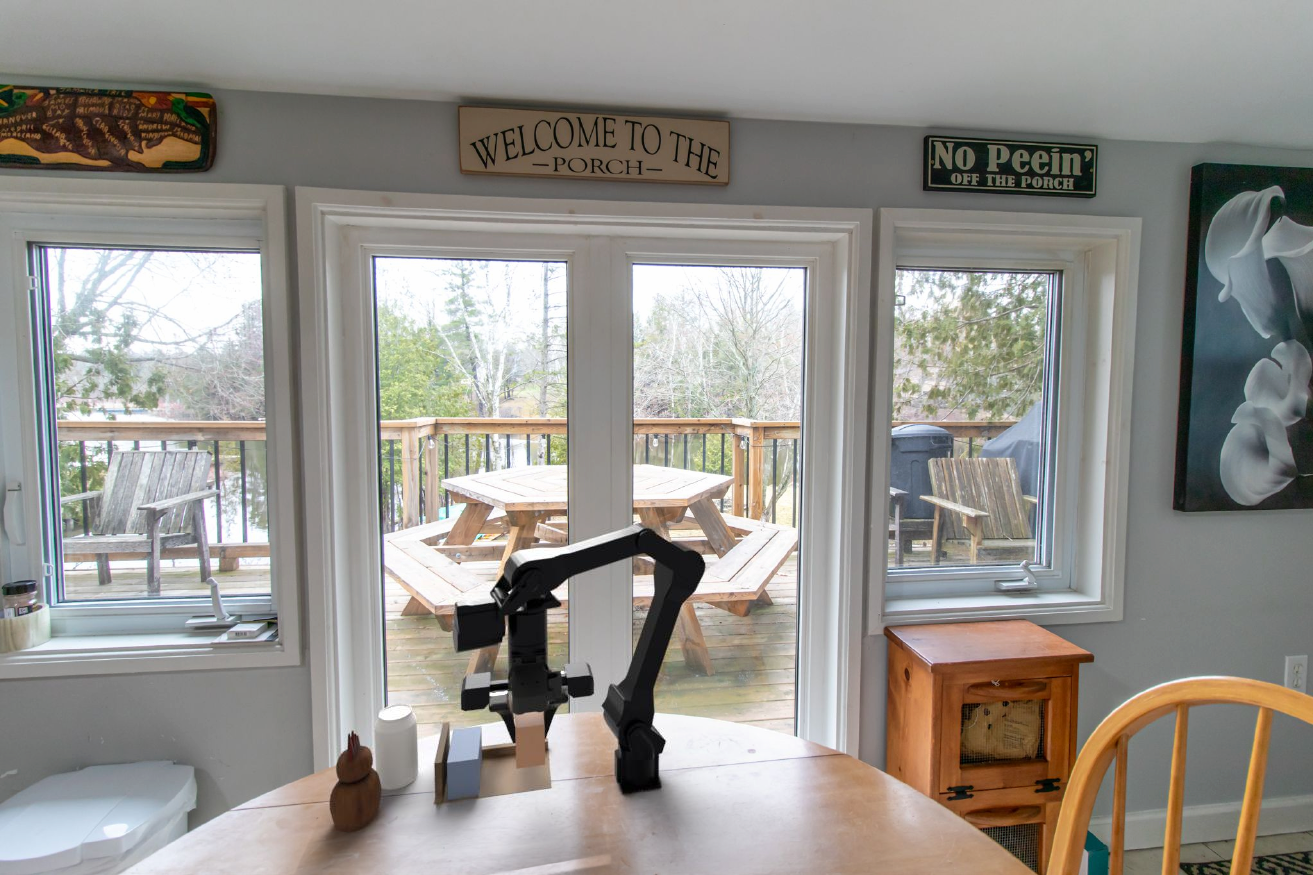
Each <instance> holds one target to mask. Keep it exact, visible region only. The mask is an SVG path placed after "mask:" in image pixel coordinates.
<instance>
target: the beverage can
mask: <svg viewBox="0 0 1313 875" xmlns="http://www.w3.org/2000/svg"><path fill="white" fill-rule="evenodd" d="M373 728H374V749H375V750H374V751H375V753H374V754H375V756H374V757H375V771H376V772H377V773H378V775H379V778H380V783H381V790H382V789H383V790H390V791H391V790H392V791H393V790H398V789H401V788H403V787H406V786H408V785H410V784H412V782H414V781H415V780H416V778H417V777H418V775H419V751H418V750H419V748H418V746H419V745H418V720H417V716H416V714H415V713H414V711H413V707H412V706H411V705H410V704H407V703H396V704H395V703H394V704H391V705H388V706H386V707H384V708H382V709H381V710H380V711H379V712H378V717H377V720H376V721H375V724H374V727H373Z"/></svg>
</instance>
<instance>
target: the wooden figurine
mask: <svg viewBox="0 0 1313 875" xmlns="http://www.w3.org/2000/svg"><path fill="white" fill-rule="evenodd" d="M354 731H355V730H351V733H349V732H348V733H347V749H345V750H344V751H342V752H341V754H340V755H339V756H338V759H337V762H336V764H335V771H336V777H337V779H338V781H337V782H336V783H335V785H334V787H333V788H332V790H331V794H330V797H329V811H330V815H331V818H332V822H333V824H334V826H335V827H336V828H337V829H338V830H340V831H341V832H347V833H349V832H355V831H358V830H360V829H363V828H364V827H366V826H368V824H370V823H371V822H372V821H373V820H374V819H375V817H376V815H377V812H378V809H379V806H380V802H381V799H382V788H381V783H380V778H379V775H378V773H377V772H376V769H375V768H373V764H374V763H373V762H374V759H373V753H372V750H371V749H370V748H369V747H368V746H367V745H361V742H360V736H359V735H357V733H355V732H354Z"/></svg>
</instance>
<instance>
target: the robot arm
mask: <svg viewBox="0 0 1313 875" xmlns="http://www.w3.org/2000/svg"><path fill="white" fill-rule="evenodd" d="M639 555H646V556H648V557H649V558H651V559H653V560H654V561H655V562H654V567H653V589H654V592H653V597H652V599H651V603H650V606H649V607H648V612H647V614H646V617H645V620H644V623H643V626H642V629H641V631H640V634H639V638H638V640H637V643H636V647H635V650H634V653H633V656H632V658H631V662H630V664H629V667H628V670H627V673H626V675H625V677H624V679H623V680H621V681H620V682H619V684H614V683H610V684H609V686H608V689H607V693H606V697H605V699H604V701H603V703H602V704H601V707H602V709H603V713H602V715H603V719H604V721H605V724H606V725H607V726H608V728H609V730H610V731H611V732H612V733H613V735H614V736H615V738H616V740H617V749H615V750H614V776H615V781H616V783H617V784H619V789H620V792H621V794H631V793H632V794H633V793H637V792H645V791H651V790H652V791H653V790H658V789H659V790H660V789H661V788H662V786H663V784H662V782H661V778H660V755H661V754H663V752H664V749H665V745H666V742H667V740H666V738H664V737H663V735H662V734H661V733H660V732H659V730H658V729H657V728H656V727H655V726H654V724H653V723H654V719H655V718H654V717H655V696H654V695H655V694H654V691H655V686H656V683H657V680H658V677H659V674H660V671H661V669H662V665H663V662H664V660H665V656H666V655H667V654H666V653H667V651H668V647H669V645H670V643H671V642H670V641H671V639H672V636H673V634H674V629H675V627H676V624H677V621H678V618H679V615H680V612H681V610H682V607H683V605H684V603H685V602H686V601H687V600H688V599H689V598H690V597H691V596H692V595H693V594H694V593H695V592H696V591H697V589H698V587H699V584H700V582H701V580H702V579H703V577H704V575H705V570H706V561H705V560H704V557H703V555H702V553H700V552H699V551H696V550H695V549H693V548H691V547H688V546H687V545H685V544H683V543H681V542H679V541H675V540H672V541H669V540H667V539H665V538H664V537H662V536H661V535H659V534H657V533H656V531H655V530H653V529H652V528H650V527H649V526H647V525H645V524H642V523H634V524H631V525H630V526H628V527H625V528H622V529H618V530H615V531H612V532H609V533H605V534H602V535H600V536H596V537H592V538H589V539H585V540H582V541H579V542H576V543H572V544H569V545H566V546H563V547H562V546H560V547H536V548H528V549H519V550H517V551H514V552H513V553H511V554H510V555H509V556H508V558H507V560H506V561H505V563H504V566H503V573H502V574H501V575H500V578H498V580H497V581H496V583H495V584H494V586H493V588H491V590H490V592H489V595H490V598H489V597H488V598H483V599H482V598H481V599H477V600H461V601H460V600H459V601H455V603H454V612H453V619H452V620H451V631H452V640H453V642H452V643H453V647H454V651H455V654H459V653H464V652H469V651H471V652H472V651H476V650H481V649H485V648H492V647H497V646H498V645H499V644H501V643H503V638H505V636H506V631H507V669H508V670H507V679H499V680H498V679H497V680H491V678H492V677H491V672H490V671H487V672H479V673H469V674H466V675H465V676H464V678H463V679H462V683H461V684H462V685H461V690H460V710H461V711H464V712H468V711H469V712H470V711H479V710H484V709H486V708H487V707H488V711H489V712H490V713H497V714H498V715H499V716H500V717H501V719H502V720H503V722H504V725H505V727H506V730H507V731H508V732H507V733H508V734H509V737H510V740H511V743H513V744H514V743H516V734H515V714H516V715H522V714H524V713H530V712H543V715H544V724H545V739H546V738H548V734H549V731H550V728H551V726H552V723H553V719H554V718H555V717H554V716H555V714H556V712H557V710H558V708H559V707H560V706H561V705H563V704H564V705H565V704H567V703H568V702H569V701H570V700H569V696H570V697H571V698H573V699H577V698H585V697H591V696H593V695H594V694H595V681H594V675H593V671H592V669H591V665H590V664H589V663H588V662H587V661H582V662H581V661H580V662H572V663H563V664H564V665H563V671H561V670H554V671H553V670H552V669H550V667H549V647H548V646H549V644H548V643H549V641H548V640H549V639H548V633H549V632H548V631H549V630H548V610H551V609H557V608H560V607H561V606H562V602H561V601H560V599H558V598H557V597H556V595H554V594H553V593H552V591H554V590H557V589H558V588H559V587H561V585H563V584H564V583H565V582H566V581H567V580H568V579H569V580H570V579H571V578H573V577H575V576H577V575H581V574H583V573H586V572H590V571H592V570H596V569H598V568H602V567H604V566H605V567H606V566H608V565H611V564H615V563H616V562H619V561H623V560H626V559H629V558H632V557H637V556H639ZM506 617H507V620H506ZM506 621H507V624H506ZM506 625H507V629H506Z"/></svg>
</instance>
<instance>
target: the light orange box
mask: <svg viewBox="0 0 1313 875" xmlns="http://www.w3.org/2000/svg"><path fill="white" fill-rule="evenodd" d="M543 713H544V711H543V712H530V713H524V714H522V715H516V714H514V722H515V734H516V769H519V768H526V767H533V766H539V765H545V724H544V715H543Z"/></svg>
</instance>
